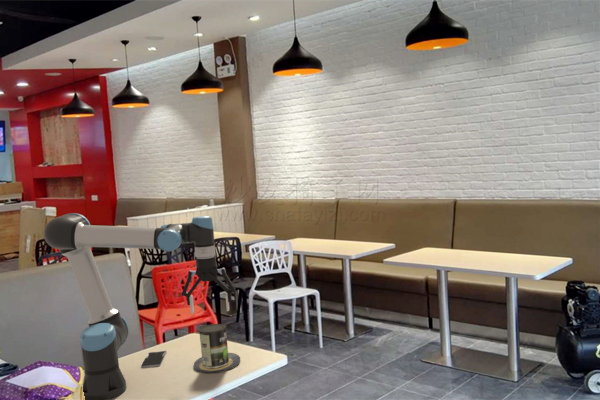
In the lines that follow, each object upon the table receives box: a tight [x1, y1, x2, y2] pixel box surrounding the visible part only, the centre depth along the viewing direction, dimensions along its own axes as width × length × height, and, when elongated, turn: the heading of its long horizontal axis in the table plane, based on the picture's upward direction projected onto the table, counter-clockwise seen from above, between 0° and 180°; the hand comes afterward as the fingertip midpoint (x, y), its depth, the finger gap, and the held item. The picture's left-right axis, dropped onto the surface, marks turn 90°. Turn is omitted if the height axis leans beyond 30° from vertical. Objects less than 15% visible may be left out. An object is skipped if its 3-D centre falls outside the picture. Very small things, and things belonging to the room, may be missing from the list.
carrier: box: [193, 352, 241, 374], centre depth 214 cm, size 18×19×12 cm
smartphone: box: [140, 350, 168, 369], centre depth 224 cm, size 8×1×15 cm
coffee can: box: [198, 323, 229, 369], centre depth 211 cm, size 10×10×14 cm
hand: (210, 311), depth 210 cm, fingers open, 13 cm apart
